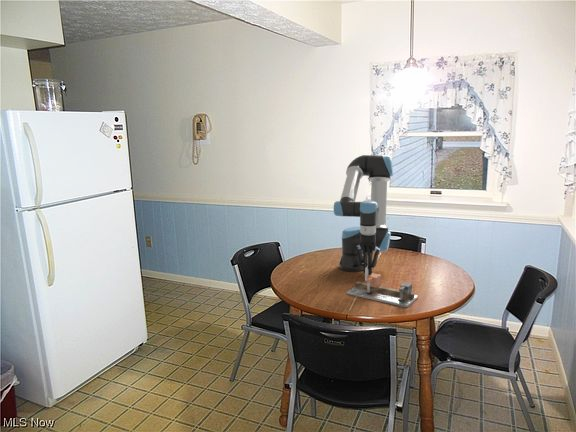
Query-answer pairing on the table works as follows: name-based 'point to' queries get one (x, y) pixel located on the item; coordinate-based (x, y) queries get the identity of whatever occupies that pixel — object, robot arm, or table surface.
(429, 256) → the table surface
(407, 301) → the bolt plate
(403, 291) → the rail and fixed leg
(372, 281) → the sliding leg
